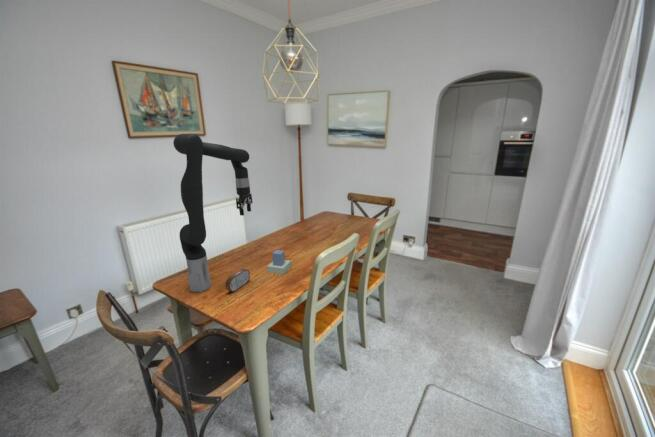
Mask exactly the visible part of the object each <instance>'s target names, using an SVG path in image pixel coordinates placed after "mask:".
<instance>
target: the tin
mask: <svg viewBox="0 0 655 437" xmlns="http://www.w3.org/2000/svg"><path fill="white" fill-rule="evenodd" d="M250 274H251V273H250V271H249V269H246V268H241V269H238V270H237V271H236V272H233V273H232V274H230V275H229V276H228V277H227V279H226V281H225V284H224V285H225V289H226V290H227V291H228V292H236V291H238V290H239V289H241V287H243V286H245V285H247V283H248V282H249V280H250Z"/></svg>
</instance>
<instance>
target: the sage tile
mask: <svg viewBox="0 0 655 437" xmlns="http://www.w3.org/2000/svg"><path fill="white" fill-rule="evenodd" d="M291 267H292V260H286V259H285V263H284V264H283V265H282V266H278V265H273V260H272V261H271V262H270V263H269V264H268V265H267V267H266V268H267V273H270V274H278V275H285V274H286V273H287V272H288V271H289V269H290V268H291Z"/></svg>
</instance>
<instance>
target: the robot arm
mask: <svg viewBox="0 0 655 437" xmlns="http://www.w3.org/2000/svg"><path fill="white" fill-rule="evenodd" d="M173 147H174V149H175V150H176V151H177V152H178V153H179V154H181V155H185V156H186V165H185V166H186V167H185V171H184V173H183V175H182V177H181V181H180V198H181V200H182V204H183V206H184V209H185V212H186V213H187V216H188V223H187V224H185V225H183V226H181V229H180V230H179V241H180V245H181V249H182V252H183V255H184V256H185V260H186V267H187V270H188V272H187V274H186V275H187V281H188V285H189V291H190V292H194V293H202V292H203V291H206V290H208V289H210V288H211V287H212V283H211V277H210V276H211V275H210V269H209V265H208V264H209V263H208V256H207V252H206V249H205V247H203V245H202V244H204V243H205V241H206V238H207V230H206V221H205V214H204V213H205V212H204V188H203V156H206V157H211V158H216V159H220V160H225V161H230V162H231V165H232V167H233V170H234V176H235V177H234V178H235V181H234V182H235V190H236V195H238V198H237V197H236V198H235V205H236V206H235V207H236V209H237V210H239V215H240V216H245V210H244V207H245V206H246V211H247V212H252V206H251V205H252V204H253V203H254V202H253V196H252V193H251V184H250V178H249V170H248V168H247V167H245V166H244V165H243V164H246V163H248V161H249V160H250V154H249V151H247V150H246V149H243V148H237V147H236V148H235V147H231V146H227V145H223V144H218V143H211V142H205V141H203V140H202V138H201V137H200V136H199V135H198V134H196V133H181V134H178V135H176V136H174V138H173Z"/></svg>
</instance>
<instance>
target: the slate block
mask: <svg viewBox="0 0 655 437" xmlns="http://www.w3.org/2000/svg"><path fill="white" fill-rule="evenodd" d="M285 254H286V253H285V251H284V250H281V249H280V250H279V249H278V250H277V249H276V250H274V251H273V252H272V261H273V265H278V266H282V265H283V264H284V263H285V260H286V259H285Z"/></svg>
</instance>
